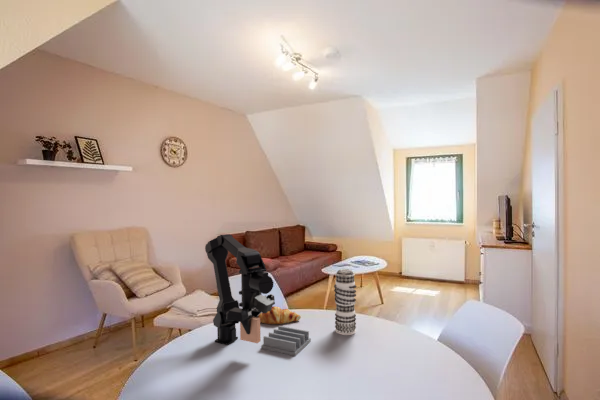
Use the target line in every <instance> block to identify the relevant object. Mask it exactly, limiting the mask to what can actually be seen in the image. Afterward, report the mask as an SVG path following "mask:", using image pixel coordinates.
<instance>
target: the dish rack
mask: <svg viewBox="0 0 600 400" xmlns="http://www.w3.org/2000/svg"><path fill="white" fill-rule="evenodd" d="M309 335H310V331H308V330H304V329H299V328H293V327H288V326H283V325H277V328H274V329H273V332H268V336H267V335H265V336H264V335H263V339H262V340H263V342H262V344H261V346H260V347H261V349H264V350H267V351H272V352H276V353H280V354H285V355H290V356H294V357H295V356H297V355H298V354H300V353H301V351H302V350H303V349H304V348H306V347H307V346H308V344H310V342H311V341H312V339H311V338H310V336H309Z"/></svg>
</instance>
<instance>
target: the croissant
mask: <svg viewBox="0 0 600 400" xmlns="http://www.w3.org/2000/svg"><path fill="white" fill-rule="evenodd" d="M258 318H260V324H261V323H262V324H267V325H282V324H286V323H288V324H289V323H292V322H297V321H300V320H301V318H302V315H300V314H298V313H297V312H295V311H292V310H290V309H288V308H281V307H279V306H274V305H273V306H272V309H271V311H268V312H267V313H261V314H259V316H258Z"/></svg>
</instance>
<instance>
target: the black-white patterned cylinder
mask: <svg viewBox="0 0 600 400" xmlns="http://www.w3.org/2000/svg"><path fill="white" fill-rule="evenodd" d="M355 275H356V274H355V272H353V270H352V269H348V268H342V269H339V270H337V272H335V284H334V286H333V287H334V290H333V291H334V302H335V307H336V308H335V314H334V315H335V317H334V319H335V322H334V324H335V325H334V328H335V330H334V331H335V333H336V334H339V335H343V336H350V335H355V334H356V333H357V330H356V328H357V326H356V325H357V322H356V320H357V318H356V315H357V314H356V309H355V304H356V302H357V299H356V298H355V297H356V296H357V294H356V293H357V290H356V288H357V285H356V282H355Z"/></svg>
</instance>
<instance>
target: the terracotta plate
mask: <svg viewBox="0 0 600 400" xmlns="http://www.w3.org/2000/svg"><path fill="white" fill-rule="evenodd" d="M239 323H240V324H239V327H240V328H239V329H240V331H239V334H240V336H239V337H240V339H239V340H241V341H244V342H249V343H254V344H258V343H260V342H261V322H260V318H258V317H253V318H252V319H251V330H250V334H247V333H246V331H245V329H244V327H243V325H242V323H241V322H239Z"/></svg>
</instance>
